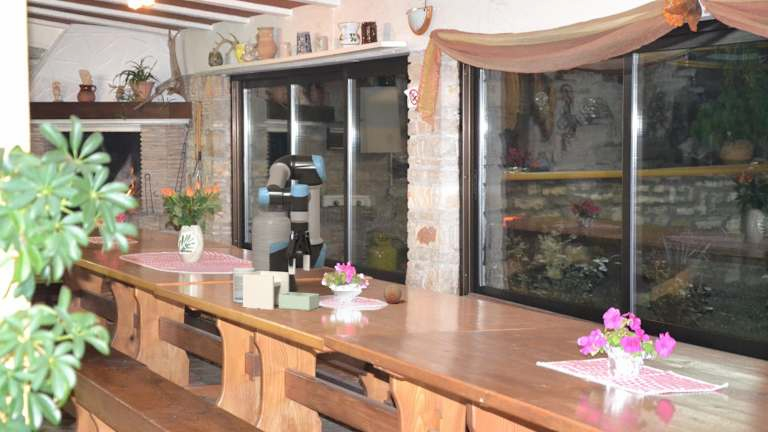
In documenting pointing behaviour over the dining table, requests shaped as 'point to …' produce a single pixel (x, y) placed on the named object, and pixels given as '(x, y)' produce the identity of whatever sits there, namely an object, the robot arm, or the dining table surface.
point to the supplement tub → (239, 283)
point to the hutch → (264, 288)
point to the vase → (267, 236)
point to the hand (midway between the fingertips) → (299, 272)
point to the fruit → (392, 294)
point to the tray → (299, 301)
